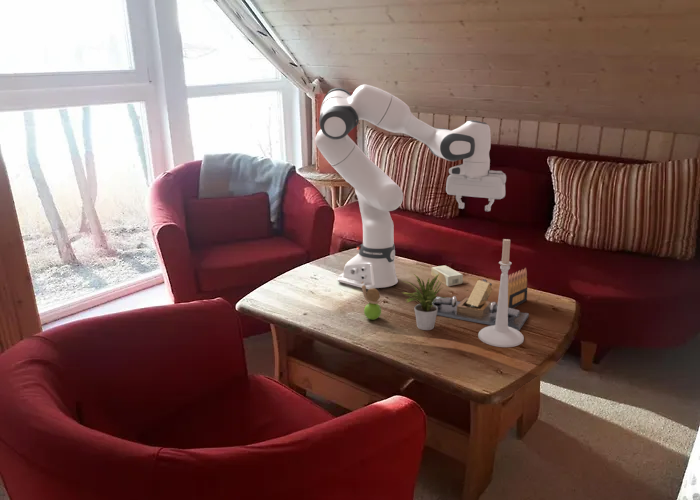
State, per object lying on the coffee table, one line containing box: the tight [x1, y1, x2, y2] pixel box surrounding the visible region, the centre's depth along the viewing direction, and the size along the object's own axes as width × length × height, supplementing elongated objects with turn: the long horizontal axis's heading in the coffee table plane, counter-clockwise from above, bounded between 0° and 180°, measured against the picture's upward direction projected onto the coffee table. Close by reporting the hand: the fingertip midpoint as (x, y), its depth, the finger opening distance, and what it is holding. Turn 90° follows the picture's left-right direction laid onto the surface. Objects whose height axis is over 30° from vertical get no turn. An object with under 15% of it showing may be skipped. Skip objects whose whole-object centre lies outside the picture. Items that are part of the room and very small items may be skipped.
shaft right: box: [489, 301, 521, 322], centre depth 179 cm, size 9×4×4 cm, turn 49°
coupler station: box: [436, 297, 529, 331], centre depth 185 cm, size 32×12×4 cm, turn 61°
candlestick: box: [477, 238, 525, 348], centre depth 164 cm, size 13×13×30 cm
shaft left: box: [433, 295, 458, 309], centre depth 187 cm, size 9×4×4 cm, turn 73°
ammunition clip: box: [508, 267, 528, 309], centre depth 190 cm, size 11×2×12 cm, turn 133°
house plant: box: [400, 273, 447, 331], centre depth 176 cm, size 14×14×16 cm
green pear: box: [361, 281, 382, 321], centre depth 181 cm, size 5×6×12 cm
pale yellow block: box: [466, 278, 493, 309], centre depth 185 cm, size 4×4×10 cm
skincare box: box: [430, 264, 464, 287], centre depth 214 cm, size 6×4×12 cm
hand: (474, 209), depth 199 cm, fingers open, 8 cm apart
